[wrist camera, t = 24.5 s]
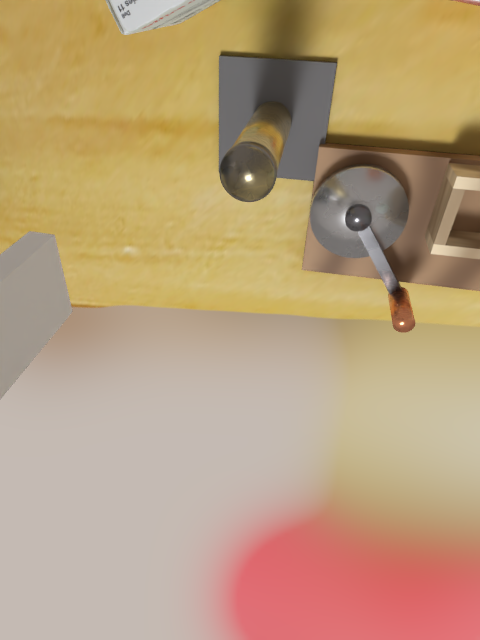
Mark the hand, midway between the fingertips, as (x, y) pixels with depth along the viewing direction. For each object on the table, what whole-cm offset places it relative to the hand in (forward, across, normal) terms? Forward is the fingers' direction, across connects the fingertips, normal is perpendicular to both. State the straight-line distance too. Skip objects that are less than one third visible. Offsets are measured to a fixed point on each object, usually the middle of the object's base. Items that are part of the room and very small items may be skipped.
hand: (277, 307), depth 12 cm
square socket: (+32, +16, -8) cm, 36 cm away
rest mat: (+33, -4, -3) cm, 33 cm away
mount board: (+33, +11, -11) cm, 36 cm away
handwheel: (+31, +7, -12) cm, 34 cm away
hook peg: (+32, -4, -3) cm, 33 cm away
